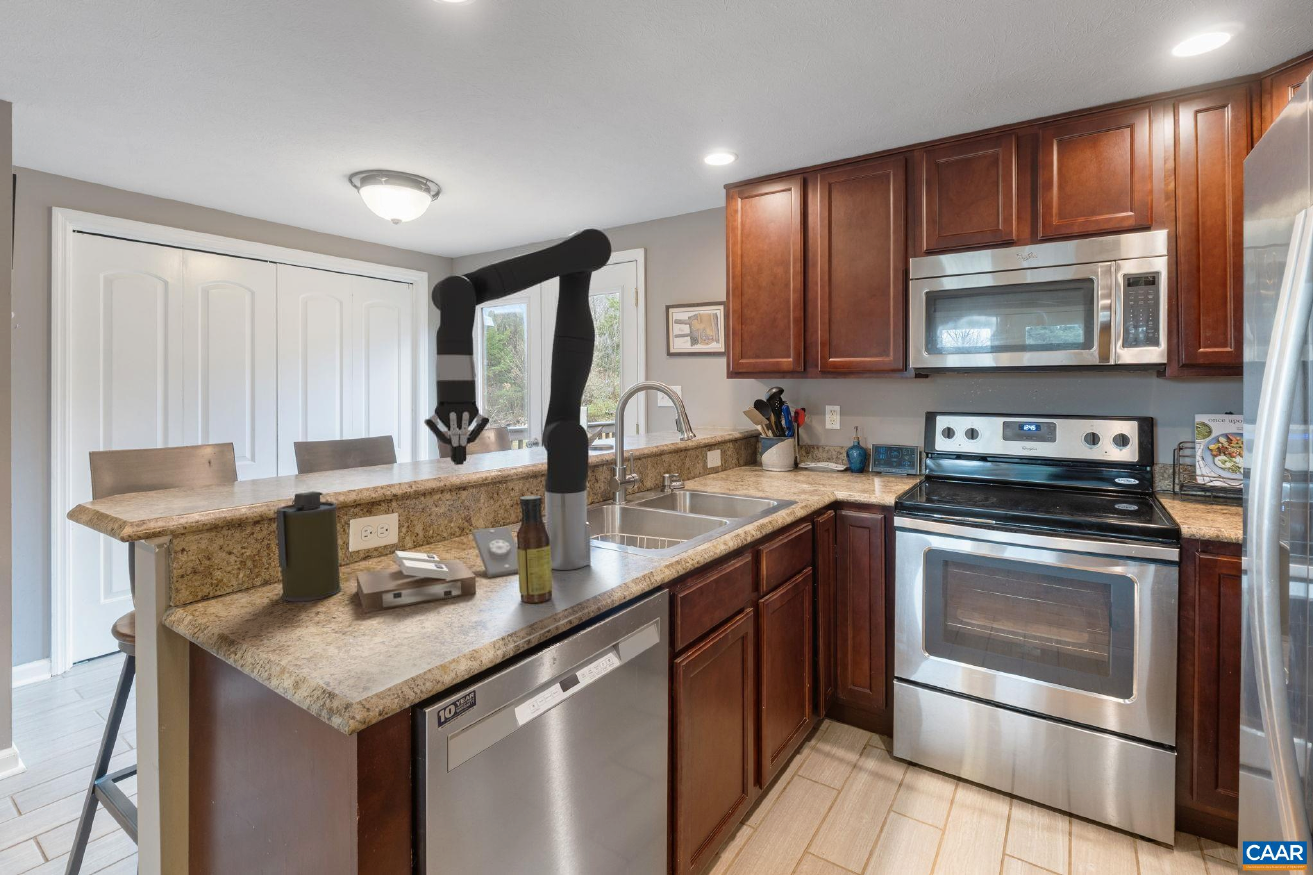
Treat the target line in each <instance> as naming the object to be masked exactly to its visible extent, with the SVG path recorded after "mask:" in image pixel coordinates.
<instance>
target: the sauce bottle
mask: <svg viewBox="0 0 1313 875" xmlns="http://www.w3.org/2000/svg"><path fill="white" fill-rule="evenodd" d="M542 498H543V497H542V496H541V495H535V494H534V495H533V494H532V495H525V496H521V497H520V499H519V504H520V506H521V522H520V526H519V528H518V530H517V533H516V545H517V556H518V573H517V574H518V587H519V588H518V590H519V594H520V600H521V601H522V602H524V603H525V602H526V603H527V604H538V603H539V604H540V603H544V602H547V601H549V600H550V599H551V598H552V597H553V595H552V594H553V592H552V590H553V573H552V572H553V571H552V568H551V553H550V539H549V536H548V534H547V531H546V524H545V522H544V520H543V515H542V514H543V513H542V504H543V500H542Z"/></svg>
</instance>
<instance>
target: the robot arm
mask: <svg viewBox="0 0 1313 875" xmlns="http://www.w3.org/2000/svg"><path fill="white" fill-rule="evenodd" d="M611 256H612V244H611V241H610V239H609V238H608V236H607V235H606V234H605V233H604V231H602V230H600V229H597V228H594V227H585V228H582V229H579V230H576V231H574V232H572V233H569V234H568V235H567V236H566V237H564V239H563V240H562V241H561V242H559V243H557V244H554V245H551V246H548V247H545V248H543V249H539V250H535V251H532V252H529V253H524V254H520V255H516V256H513V257H508V258H506V259H501V260H498V261H496V262H492V263H490V264H487V265H484V266H481V267H480V268H478V269H476V270H474V271H470V272H468V273H463V274H460V275H458V274H453V275H452V274H451V275H449V276H447V277H445V278H443V279H441V280H440V281H438V282H437V283H436V284H435V285H434V286H433V289H432V291H431V301H432V304H433V305H434V307H435V308H436V309H437V310H438V311H439V325H438V328H437V331H436V336H435V338H436V339H435V343H436V345H435V346H436V362H435V382H436V407H435V409H434V414H432V415H430V417H428V418H425V419H424V421H423V423H424V424H425V426H426V427H427V428H428V429H429V431H431V433H432V434H434V436H435V437H436V438H437V439H438V440H439V442H440V443H442V444H445V445H448V446H449V448H450V449H449V450H450V452H449V453H450V461H451V462H452V463H453V464H454V465H455V466H459V465H461V466H462V465H464V464H465V463H464V462H467V446H468V445H469V444H471V443H475V442H476V440H477V439H478V438H479V437H480V435H481V434H482V432H483V431H484V429H485V428H486V427H487V426H488V424H489V423H490V418H488V417H485V416H484V415H483V414H481V413H480V409H479V408H478V405H477V392H476V390H477V386H476V385H477V384H476V383H477V382H476V381H477V380H476V378H477V373H476V366H475V365H476V364H475V357H474V338H473V331H474V325H475V318H476V311H477V310H476V309H477V306H479V305H481V304H485V303H486V302H490V301H495V300H500V299H503V298H505V297H508V296H511V295H514V294H517V293H520V292H522V291H525V290H527V289H530V288H532V287H534V286H537V285H539V284H542V283H544V282H546V281H549V280H550V281H551V280H552V279H555V278H558V298H557V306H556V313H555V314H556V315H555V323H554V324H555V325H554V332H553V340H552V348H551V349H552V352H551V366H550V394H549V402H548V408H547V412H546V416H545V417H546V418H545V420H544V426H543V430H542V436H541V438H542V440H541V441H542V445H543V447H544V449H545V451H546V477H545V480H544V495H545V496H544V497H545V498H544V502H545V503H544V504H545V528H546V531H547V534H548V536H549V539H550V553H551V570H560V571H570V570H576V569H581V568H584V567H586V566H589V565H591V564H592V563H591V562H592V561H591V560H592V559H591V557H592V556H591V554H592V553H591V552H592V551H591V524H590V522H588V520H587V517H588V516H587V482H588V478H589V458H590V457H589V456H590V454H589V453H590V452H589V450H590V449H589V446H590V445H589V437H588V433H587V431H586V429H585V427H584V426H583V425H582V424H581V413H582V412H581V406H582V400H583V396H584V392H585V388H586V385H587V383H588V380H589V377H590V374H591V370H592V365H593V362H594V361H593V360H594V353H595V352H594V351H595V342H596V330H595V323H594V319H593V315H592V311H591V306H590V289H591V287H590V286H591V280H592V274H593V272H595V271H599V270H600V269H602V268H604V267H605V266H606V265H607V264H608V262H609V261H610V258H611ZM438 420H439V421H440V422H441V424H442V425H443V426H444V427H445V429H446V430H447V435H448V437H447V435H446V434H445V433H444V432H443V431H442V430H441V429H440V428H439V425H440V422H439V421H438ZM473 423H475V425H474V426H473V428H472V429H471V431H470V432H469V428H470V426H472V424H473ZM468 433H469V434H468Z"/></svg>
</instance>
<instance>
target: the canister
mask: <svg viewBox="0 0 1313 875" xmlns="http://www.w3.org/2000/svg"><path fill="white" fill-rule="evenodd" d="M322 495H324V493H323V492H320V491H307V492H297V493H296V494H294V499H292V500H293V501H292V502H291V504H286V505H284V506H281V507H278V508H277V509H276V510H275V514H276V515H275V516H276V531H277V532H276V534H277V551H278V567H279V568H280V569H281V583H282V584H281V585H282V594H281V599H282V600H284V601H286V602H294V603H300V602H312V601H319V600H321V599H325V598H329V597H333V596H335V595H337V594H338V593H340V591H342V586H341V576H340V574H341V572H340V557H339V555H340V553H339V551H340V550H339V534H338V533H339V532H338V512H337V508H338V505H339V504H337V503H336V502H332V501H321V496H322Z"/></svg>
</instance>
